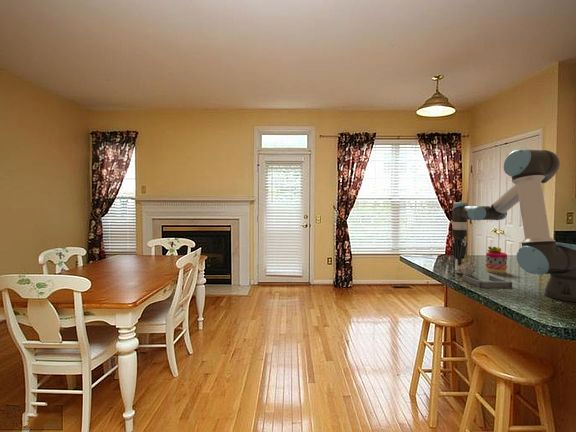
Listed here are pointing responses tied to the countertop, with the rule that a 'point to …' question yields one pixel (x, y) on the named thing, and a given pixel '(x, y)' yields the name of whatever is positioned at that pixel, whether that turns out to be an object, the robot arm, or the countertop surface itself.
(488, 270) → the cake
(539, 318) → the countertop surface
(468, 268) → the translucent lumpy piece
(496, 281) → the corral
